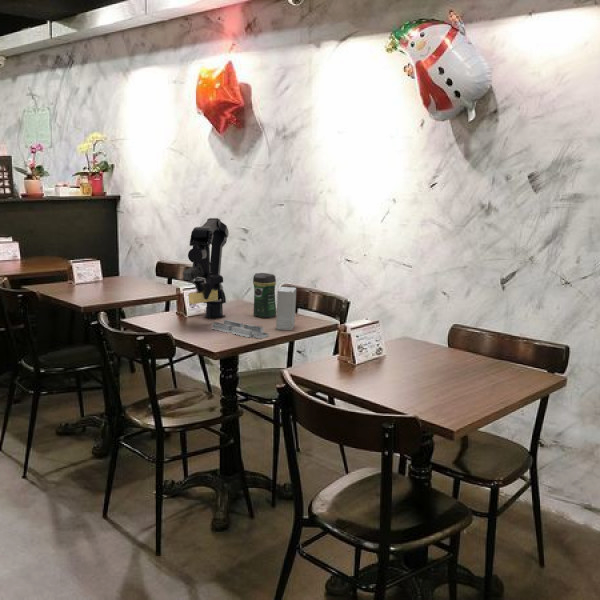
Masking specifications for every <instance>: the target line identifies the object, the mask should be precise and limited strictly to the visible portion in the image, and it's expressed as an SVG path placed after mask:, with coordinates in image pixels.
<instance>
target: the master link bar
mask: <svg viewBox="0 0 600 600" xmlns="http://www.w3.org/2000/svg"><path fill="white" fill-rule="evenodd" d="M215 300H218V290H214V289H212V291H211V293H210V295H209V297H208V299H205V297H204V291H198V292H197V291H193V292H188V304H191V305H197V304H202V303H203V302H209V301H215ZM203 304H204V303H203Z"/></svg>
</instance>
